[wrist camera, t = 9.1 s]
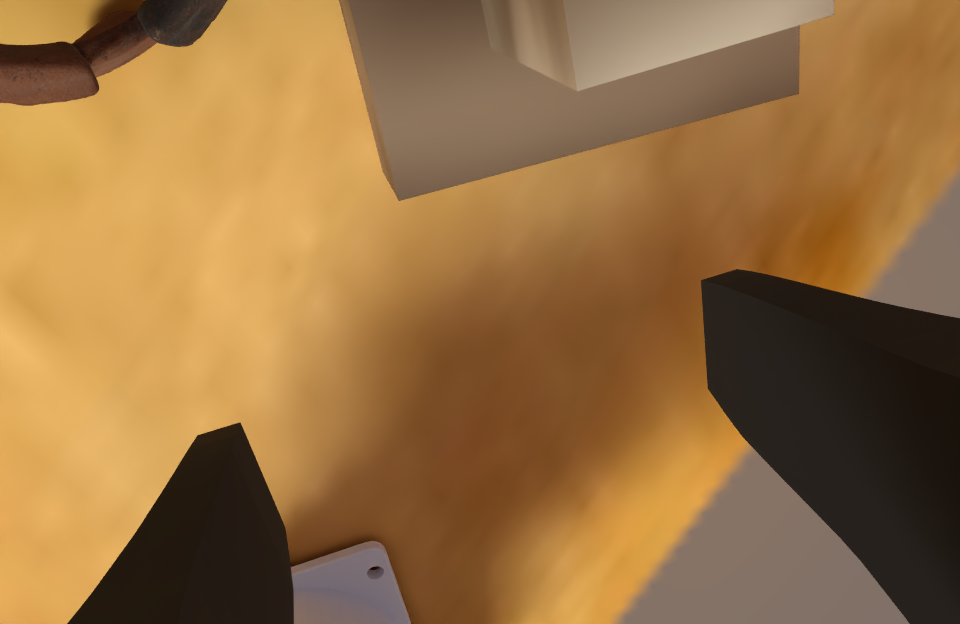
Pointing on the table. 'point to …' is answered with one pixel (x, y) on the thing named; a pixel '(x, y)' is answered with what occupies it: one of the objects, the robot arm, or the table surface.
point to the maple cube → (631, 32)
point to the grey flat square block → (525, 94)
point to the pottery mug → (99, 51)
